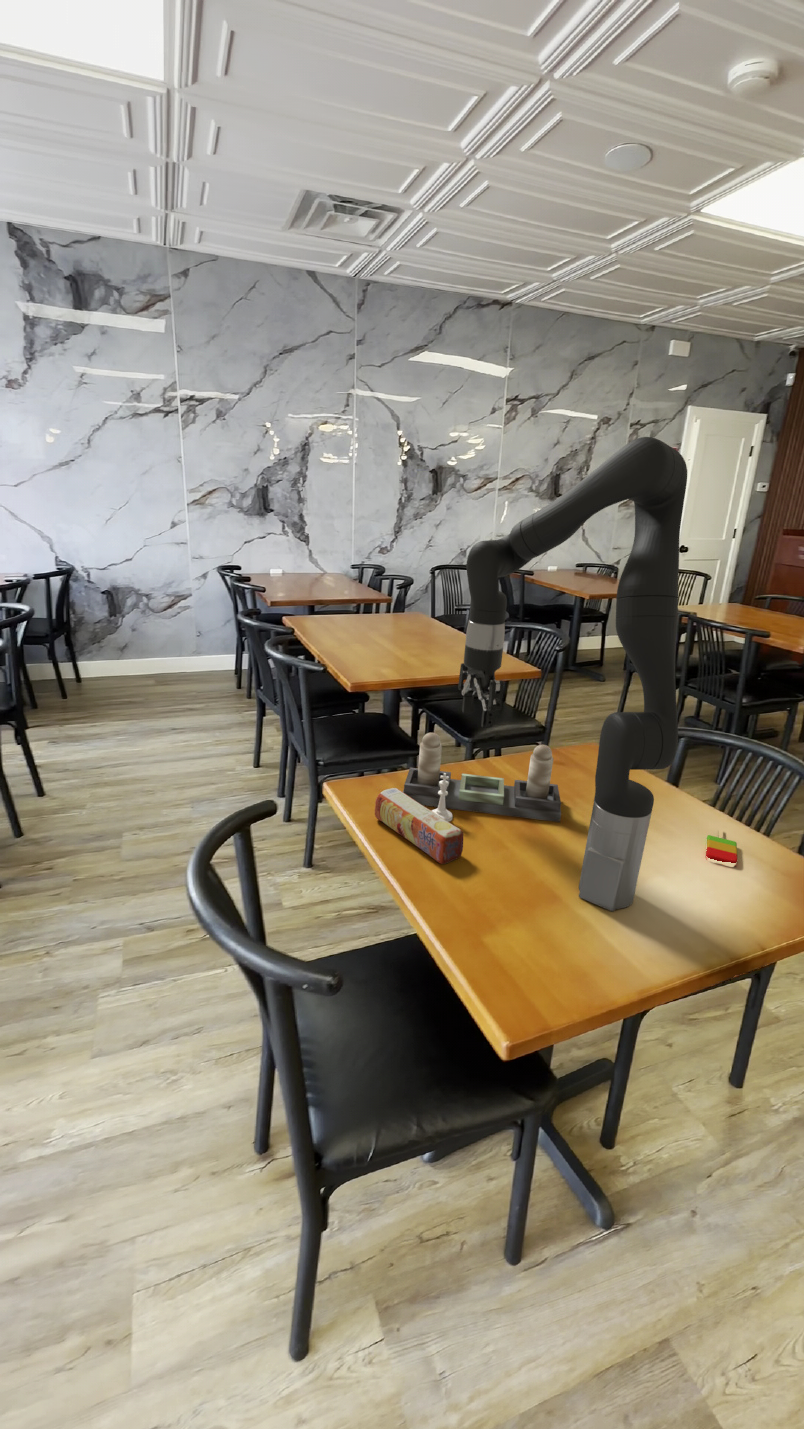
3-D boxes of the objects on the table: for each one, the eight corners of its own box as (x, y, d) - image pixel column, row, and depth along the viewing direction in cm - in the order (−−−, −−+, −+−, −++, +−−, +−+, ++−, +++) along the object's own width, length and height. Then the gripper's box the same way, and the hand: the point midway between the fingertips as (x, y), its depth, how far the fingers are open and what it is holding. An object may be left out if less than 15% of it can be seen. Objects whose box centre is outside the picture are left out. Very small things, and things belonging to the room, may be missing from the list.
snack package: (465, 858, 122) (468, 826, 120) (438, 868, 118) (441, 836, 116) (397, 812, 138) (399, 783, 135) (371, 820, 134) (373, 790, 132)
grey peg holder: (555, 799, 148) (565, 738, 143) (559, 822, 138) (570, 757, 133) (408, 781, 152) (412, 722, 147) (401, 802, 142) (405, 739, 137)
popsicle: (704, 863, 126) (707, 854, 126) (706, 830, 139) (708, 822, 139) (736, 871, 124) (738, 862, 124) (734, 837, 137) (736, 829, 137)
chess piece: (450, 824, 134) (455, 780, 130) (427, 820, 135) (431, 776, 131) (453, 813, 138) (458, 770, 135) (431, 810, 139) (434, 767, 136)
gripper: (519, 652, 124) (509, 730, 130) (483, 634, 136) (476, 706, 142) (485, 654, 121) (476, 734, 127) (451, 635, 134) (445, 709, 139)
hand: (476, 719), depth 135 cm, fingers open, 8 cm apart
